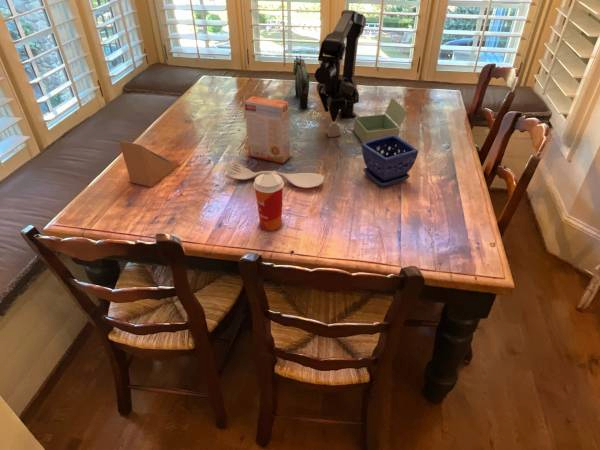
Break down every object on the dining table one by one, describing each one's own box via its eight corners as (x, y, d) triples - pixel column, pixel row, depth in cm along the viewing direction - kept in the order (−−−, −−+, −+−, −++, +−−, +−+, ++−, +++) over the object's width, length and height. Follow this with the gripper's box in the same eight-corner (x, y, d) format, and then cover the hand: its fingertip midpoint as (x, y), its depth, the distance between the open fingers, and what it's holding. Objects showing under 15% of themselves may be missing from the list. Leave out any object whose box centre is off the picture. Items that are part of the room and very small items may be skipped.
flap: (391, 97, 169) (392, 97, 169) (385, 112, 172) (385, 112, 173) (406, 110, 159) (407, 111, 159) (399, 126, 162) (400, 126, 162)
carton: (353, 131, 174) (354, 117, 171) (383, 127, 176) (385, 113, 173) (365, 146, 163) (367, 132, 160) (397, 142, 166) (399, 128, 162)
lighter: (338, 134, 172) (339, 114, 167) (339, 135, 171) (340, 116, 166) (320, 135, 171) (321, 116, 166) (321, 137, 169) (322, 118, 165)
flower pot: (381, 192, 138) (385, 159, 131) (357, 173, 148) (360, 141, 140) (414, 182, 143) (420, 149, 136) (389, 164, 152) (393, 133, 145)
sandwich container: (179, 165, 153) (171, 125, 144) (151, 187, 141) (141, 145, 132) (158, 161, 155) (149, 121, 146) (130, 181, 144) (118, 140, 135)
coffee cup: (256, 216, 128) (252, 172, 119) (284, 215, 129) (283, 171, 120) (256, 234, 122) (252, 189, 112) (286, 232, 122) (284, 187, 113)
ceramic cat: (292, 94, 206) (292, 50, 194) (306, 93, 207) (306, 50, 195) (297, 110, 191) (296, 64, 179) (311, 110, 191) (312, 63, 179)
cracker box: (290, 157, 157) (289, 101, 144) (283, 164, 153) (281, 107, 140) (256, 149, 162) (252, 94, 149) (248, 156, 158) (243, 100, 145)
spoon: (233, 170, 150) (232, 161, 148) (325, 178, 145) (325, 169, 143) (225, 183, 143) (224, 174, 141) (321, 193, 138) (321, 184, 136)
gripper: (362, 81, 150) (358, 124, 160) (345, 65, 165) (342, 105, 174) (331, 84, 148) (329, 127, 158) (316, 67, 163) (315, 107, 172)
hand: (330, 116), depth 166 cm, fingers open, 9 cm apart
